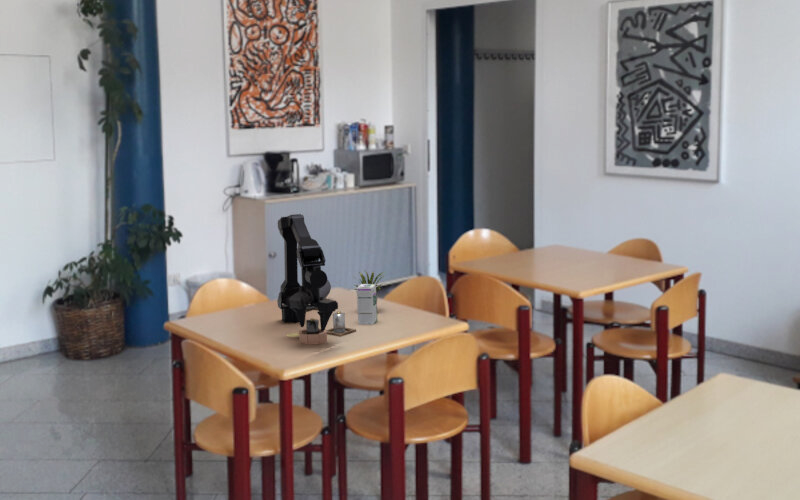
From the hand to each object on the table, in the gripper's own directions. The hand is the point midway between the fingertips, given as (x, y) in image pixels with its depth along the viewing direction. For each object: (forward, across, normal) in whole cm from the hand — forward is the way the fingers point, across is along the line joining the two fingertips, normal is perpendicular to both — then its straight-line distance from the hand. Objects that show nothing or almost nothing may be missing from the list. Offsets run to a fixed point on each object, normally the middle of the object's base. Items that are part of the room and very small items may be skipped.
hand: (312, 328), depth 297 cm
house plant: (+5, -12, +46) cm, 47 cm away
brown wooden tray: (+5, 0, +12) cm, 13 cm away
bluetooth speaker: (+5, -38, +42) cm, 57 cm away
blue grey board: (+5, -10, +8) cm, 14 cm away
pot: (+5, 0, 0) cm, 5 cm away
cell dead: (+4, 0, 0) cm, 4 cm away
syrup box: (+5, 0, +28) cm, 29 cm away
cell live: (+4, 0, +12) cm, 13 cm away
